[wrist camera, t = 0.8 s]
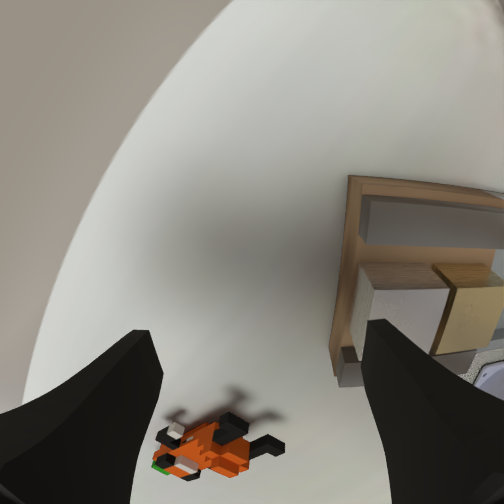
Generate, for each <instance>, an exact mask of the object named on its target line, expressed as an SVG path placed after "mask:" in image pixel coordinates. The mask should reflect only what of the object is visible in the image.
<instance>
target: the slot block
mask: <svg viewBox="0 0 504 504" xmlns="http://www.w3.org/2000/svg"><path fill="white" fill-rule="evenodd" d="M496 249H504V199H501V198H499V197H496V196H494V195H492V194H489V193H487V192H484V191H482V190H479V189H473V188H467V187H460V186H453V185H446V184H438V183H430V182H421V181H412V180H402V179H392V178H381V177H368V176H355V175H348V191H347V205H346V217H345V229H344V239H343V249H342V258H341V267H340V275H339V283H338V291H337V298H336V305H335V312H334V318H333V325H332V331H331V337H330V343H329V352H330V357H331V362H332V367H333V372H334V376H337V380H338V385H339V388H340V387H358V386H364V382H363V377H362V372H361V361H359V360H358V357H357V353H356V350H355V347H354V344H353V341H352V337H351V334H350V331H349V328H348V324H349V318H350V313H351V307H352V301H353V295H354V289H355V283H356V276H357V269H358V262H388V263H426V264H427V265H428V266H429V267H430V268H432V264H433V263H470V264H485V265H486V266H487V267H489V268H490V269H491V267H492V263H493V259H494V255H495V251H496ZM476 352H477V349H472V350H465V351H458V352H451V353H444V354H435V353H434V351H433V349H432V348H430V351H429V354H428V355H430V356H431V357H432V358H433V359H435V360H436V361H437V362H439V363H440V364H442V365H443V366H444V367H446V368H447V369H448V370H450V371H451V372H453V373H454V374H456V375H458V374H463V373H467V371H468V369H469V367H470V365H471V363H472V361H473V359H474V357H475V355H476Z"/></svg>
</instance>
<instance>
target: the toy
mask: <svg viewBox="0 0 504 504" xmlns="http://www.w3.org/2000/svg"><path fill="white" fill-rule="evenodd" d="M184 429H185V427H183V426H182V425H180V424H178V423H177V422H175V423H173V424H171V425H169V426H167V427H166V428H164V429H162V430H160V431H158V433H157V436H156V439H155V440H156V441H158V442H160V443H161V447H160V450H158V451H155V453H154V456H153V463H152V466H151V467H152V468H154V469H156V470H157V471H159V472H161V473H163V474H165V475H169V474H173V475H175V476H177V477H179V478H181V479H184V480H186V481H191V480H195V479H198V478H200V473H201V470H203V469H205V468H209V469H211V470H213V471H215V472H217V473H219V474H222V475H224V476H226V477H229V478H231V477H234V476H237V475H238V474H239V472H243V471H246V470H248V469H249V461H250V460H251V459H253V458H255V457H258V456H260V455H263V454H265V453H269V454H271V455H273V456H275V457H276V456H279V455H281V454H283V453H285V443H284V442H282V441H280V440H278V439H276V438H274V437H273V436H271V435H269V434H267V435H265V436H263V437H260V438H258V439H256V440H254V441H252V442H248V441H246V440H245V439H243V437H242V436H244V435H246V434H248V430H249V423H248V422H246V421H244V420H243V419H241V418H239V417H237V416H236V415H234V414H233V413H231V412H227V413H225V414H224V415H222V416H220V420H219V423H217V422H214V423H212V424H209V423H208V422H206V423H204V424H202V425H200V426H198V427H196V428H195V429H193V430H191V431H189V432H187V433H185V434H183V433H184Z"/></svg>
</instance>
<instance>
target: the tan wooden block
mask: <svg viewBox="0 0 504 504" xmlns="http://www.w3.org/2000/svg"><path fill="white" fill-rule="evenodd" d="M431 269H432V270H433V271H434V272H435V273H436V275H437V276H438V277H439V278H440V279H441V280H442V281H443V282H444V283H445V284H446V285H447V286H448V287H449V288H450V290H449V294H448V297H447V301H446V304H445V307H444V311H443V314H442V317H441V320H440V323H439V326H438V329H437V332H436V335H435V337H434V340H433V343H432V346H431V348H432V349H433V351H434V353H435V354H444V353H451V352H458V351H465V350H472V349H478V348H484V347H488V345H489V342H490V340H491V338H492V336H493V333H494V331H495V328H496V326H497V323H498V321H499V318H500V316H501V313H502V310H503V307H504V280H503V279H502V278H501V277H499V276H498V275H497V274H496V273H495V272H493V271H492V270H491V269H490V268H489V267H487V266H486V265H485V264H470V263H433V264H432V268H431Z"/></svg>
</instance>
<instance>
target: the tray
mask: <svg viewBox="0 0 504 504" xmlns="http://www.w3.org/2000/svg"><path fill="white" fill-rule="evenodd" d="M479 190H480V189H479ZM482 191H484V192H487V193H489V194H492V195H494V196H496V197H499V198H501V199H504V194H503V193H498V192H492V191H486V190H482ZM491 270H492V271H493V272H495V273H496V274H497V275H498V276H499V277H501V278H502V279H503V280H504V249H496V251H495V255H494V259H493V263H492V267H491ZM499 348H504V307H503V310H502V313H501V316H500V318H499V321H498V323H497V326H496V328H495V331H494V333H493V336H492V338H491V340H490V342H489V345H488V347H484V348H478V349H477V352H483V351H488V350H493V349H499ZM477 352H476V353H477Z"/></svg>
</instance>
